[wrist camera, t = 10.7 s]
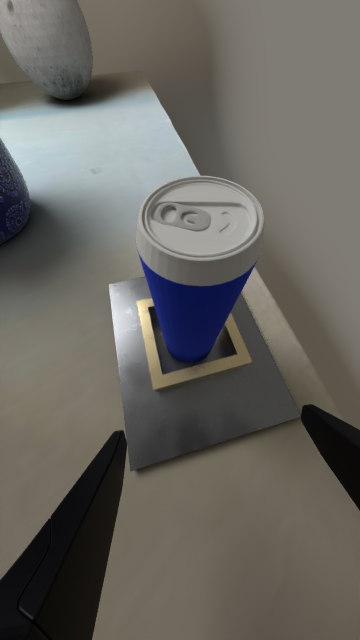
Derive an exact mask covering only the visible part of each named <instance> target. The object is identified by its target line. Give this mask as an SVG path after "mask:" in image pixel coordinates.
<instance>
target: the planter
mask: <svg viewBox="0 0 360 640" xmlns="http://www.w3.org/2000/svg"><path fill="white" fill-rule="evenodd" d="M29 214H30V197H29V192H28V188H27V185H26V182H25V180H24V178H23V176H22V174H21V172H20V170H19V168H18V166H17V165H16V163H15V161H14V160H13V158H12V156H11V155H10V153H9V151H8V150H7V148H6V146H5V145H4V143H3V142H2V140H1V138H0V244H1V243H3V242H5V241H7V240H9V239H10V238H12V237H13V236H15V235H16V234H17V233H18V232H19V231H20V230H21V229H22V228H23V227H24V226H25V224H26V223H27V221H28V218H29Z"/></svg>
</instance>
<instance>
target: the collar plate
mask: <svg viewBox="0 0 360 640" xmlns="http://www.w3.org/2000/svg"><path fill="white" fill-rule="evenodd" d="M109 291H110V300H111V308H112V317H113V325H114V334H115V343H116V351H117V360H118V368H119V377H120V385H121V394H122V402H123V411H124V419H125V428H126V436H127V445H128V454H129V462H130V471H133V470H136V469H139V468H142V467H145V466H148V465H152V464H155V463H158V462H161V461H164V460H167V459H170V458H173V457H177V456H180V455H183V454H186V453H189V452H192V451H195V450H198V449H201V448H205V447H208V446H211V445H214V444H217V443H220V442H223V441H226V440H230V439H233V438H236V437H239V436H242V435H245V434H248V433H251V432H255V431H258V430H261V429H264V428H267V427H270V426H273V425H276V424H280V423H283V422H286V421H289V420H292V419H295V418H298V417H301V415H300V413H299V411H298V409H297V407H296V405H295V403H294V401H293V399H292V397H291V395H290V393H289V391H288V389H287V387H286V385H285V383H284V380H283V378H282V376H281V374H280V372H279V370H278V368H277V366H276V364H275V362H274V360H273V358H272V356H271V354H270V352H269V350H268V348H267V346H266V344H265V342H264V340H263V337H262V335H261V333H260V331H259V329H258V327H257V325H256V323H255V321H254V319H253V317H252V315H251V313H250V311H249V309H248V307H247V305H246V303H245V301H244V299H243V296H242V294H241V293H240V295H239V297H238V299H237V301H236V303H235V305H234V307H233V309H232V311H231V313H230V314H229V316H228V318H227V320H226V322H225V324H224V326H223V328H222V330H221V332H220V334H219V336H218V338H217V340H216V342H215V344H214V345H213V347H212V349H211V351H210V353H209V354H208V355H207V357H205V358H204V359H203V360H201V361H199V362H195V363H184V362H181V361H178V360H177V359H175V358H174V357H173V356H172V355H171V354H170V353H169V351H168V349H167V347H166V344H165V340H164V337H163V334H162V330H161V327H160V324H159V320H158V317H157V313H156V310H155V307H154V303H153V300H152V297H151V293H150V290H149V286H148V283H147V280H146V276H145V277H140V278H136V279H131V280H127V281H122V282H117V283H113V284H109Z"/></svg>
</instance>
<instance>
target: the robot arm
mask: <svg viewBox="0 0 360 640" xmlns="http://www.w3.org/2000/svg"><path fill="white" fill-rule="evenodd" d="M301 421H302V423H303V425H304V427H305V428H306V430H307V432H308V433H309V435H310V437H311V439H312V440H313V442H314V444H315V445H316V447H317V449H318V450H319V452H320V454H321V455H322V457H323V458H324V460H325V461H326V463H327V464H328V466H329V467H330V468H331V470H332V471H333V473H334V474H335V476H336V477H337V478H338V480H339V481H340V483H341V484H342V486H343V487H344V489H345V490H346V491H347V493H348V494H349V496H350V497H351V499H352V500H353V501H354V503H355V504H356V506H357V507H358V509H359V510H360V430H359V429H357V428H355V427H353V426H351V425H350V424H348V423H346V422H344V421H342V420H340V419H338V418H337V417H335V416H333V415H331V414H329V413H327V412H325V411H324V410H322V409H320V408H318V407H316V406H314V405H312V404H309V405H304V406H303V407H302V413H301ZM126 450H127V441H126V438H125V434H124V431H123V430H119V431H115V432H113V434H112V435H111V436H110V438H109V439H108V440H107V442H106V443H105V444H104V446H103V447H102V448H101V450H100V451H99V452H98V454H97V455H96V456H95V458H94V459H93V460H92V462H91V463H90V464H89V466H88V467H87V469H86V470H85V471H84V473H83V474H82V475H81V477H80V478H79V479H78V481H77V482H76V483H75V485H74V486H73V487H72V489H71V490H70V491H69V493H68V494H67V495H66V497H65V498H64V499H63V501H62V502H61V503H60V505H59V506H58V507H57V509H56V510H55V511H54V513H53V514H52V515H51V519H48V521H47V522H46V523H45V525H44V526H43V527H42V529H41V530H40V531H39V532H38V534H37V535H36V536H35V538H34V539H33V540H32V542H31V543H30V544H29V545H28V547H27V548H26V549H25V551H24V552H23V553H22V554H21V556H20V557H19V558H18V559H17V560H16V562H15V563H14V564H13V565H12V567H11V568H10V569H9V570H8V571H7V573H6V574H5V575H4V576H3V578H2V579H1V580H0V640H92V637H93V632H94V627H95V622H96V617H97V612H98V607H99V602H100V597H101V592H102V587H103V582H104V577H105V572H106V567H107V562H108V557H109V552H110V547H111V542H112V537H113V532H114V527H115V522H116V517H117V512H118V507H119V502H120V497H121V492H122V486H123V478H124V469H125V460H126Z"/></svg>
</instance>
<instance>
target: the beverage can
mask: <svg viewBox="0 0 360 640" xmlns="http://www.w3.org/2000/svg"><path fill="white" fill-rule="evenodd" d="M263 232H264V213H263V210H262V208H261V205H260V203H259V202H258V200H257V199H256V198H255V197H254V195H252V194H251V193H250V192H249V191H248V190H247V189H245V188H243V187H242V186H240V185H238V184H236V183H234V182H231V181H229V180H226V179H221V178H218V177H211V176H190V177H183V178H179V179H175V180H172V181H169V182H167V183H165V184H163V185H161V186H159V187H158V188H156V189H155V190H153V191H152V192H151V193H150V194H149V195H148V196H147V197H146V198H145V200H144V201H143V203H142V205H141V207H140V211H139V215H138V225H137V236H136V244H137V249H138V253H139V256H140V259H141V263H142V266H143V270H144V273H145V276H146V280H147V283H148V286H149V290H150V293H151V297H152V300H153V303H154V307H155V310H156V313H157V317H158V320H159V324H160V327H161V330H162V334H163V337H164V340H165V344H166V347H167V349H168V351H169V353H170V354H171V355H172V356H173V357H174V358H175V359H177V360H178V361H181V362H184V363H195V362H199V361H201V360H203V359H204V358H205V357H207V355H208V354H209V353H210V351H211V349H212V347H213V345H214V344H215V342H216V340H217V338H218V336H219V334H220V332H221V330H222V328H223V326H224V324H225V322H226V320H227V318H228V316H229V314H230V313H231V311H232V309H233V307H234V305H235V303H236V301H237V299H238V297H239V295H240V293H241V291H242V289H243V287H244V285H245V283H246V281H247V280H248V278H249V276H250V274H251V272H252V270H253V268H254V266H255V264H256V262H257V260H258V258H259V256H260V253H261V250H262V243H263Z"/></svg>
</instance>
